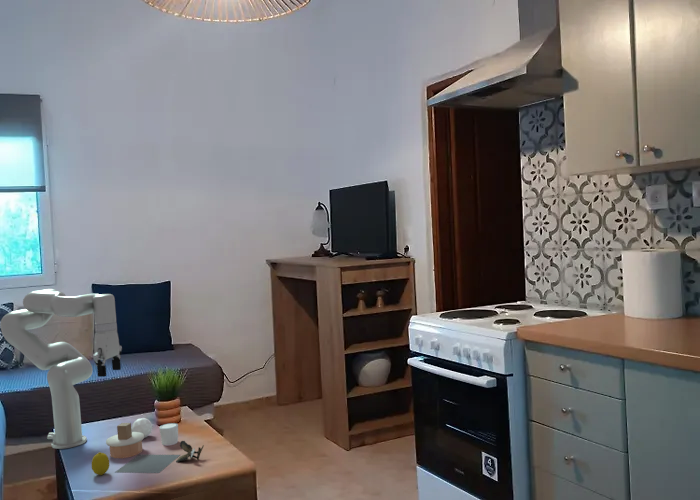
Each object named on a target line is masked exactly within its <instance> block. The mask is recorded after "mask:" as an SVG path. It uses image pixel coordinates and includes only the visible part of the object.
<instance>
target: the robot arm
mask: <svg viewBox="0 0 700 500" xmlns="http://www.w3.org/2000/svg"><path fill="white" fill-rule="evenodd" d="M115 300H116V299H115V296H114V295H113V293H112V294H111V293H102V294H99V293H87V294H86V293H85V294H82V295H75V296H67V295H66V294H65V293H64V292H61V291H58V290H57V289H54V288H46V289H40V290H33V291H30V292H29V293H27V294H26V295H25V296H24V297H23V299H22V306H23V307H24V308H23V309H18V310H13V311H10V312H7V313H6V314H5V315H4V316H3V317H2V318H1V320H0V330H1V333H2V337H4V339H5V340H6V341H7V343H8V344H10V345H11V346H12V347H14V348H15V349H17V350H18V351H19V352H20V353H21V354H23V356H25V358H27V359H28V361H30V362H31V364H33V365H34V366H35V367H36V368H38V369H39V370H41V371H47V374H46V379H47V383H48V386H49V390H50V394H51V405H52V414H53V415H52V416H53V425H54V426H53V427H54V431H53V432H48V434H47V436H46V438H47V439H48V440H52V442H51V444H50V446H51V447H52V449H57V450H65V449H71V448H75V447H79V446H81V445H84V444H85V443H86V442H87V440H88V438H87V436H86V435H83V431H82V430H83V429H82V417H81V405H80V396H79V393H78V391H77V389H76V388H75V387H74V385H76V384H80V383H83V382H85V381H86V380H88V379H89V378H91V377H92V375H93V372H94V371H93V366H92V364H91V362H90V361H89V359H88V358H87V357H86V356H85V355H83V354H82V352H80V350H78V349H77V348H76V347H75V346H73V345H72V343H68V342H66V341H58V342H54V343H48V342H46V341H45V340H43V338H41V337H40V336H39V335H37V334H35V333H33V332H31V331H30V330H34V329H38V328H42V327H44V326H45V325H46V324H47V323H48V322H49V321H50V320H51V318H52V317H53V316H54V315H56V316H57V317H67V318H78V317H82V316H87V315H91V314H93V315H94V316H93V318H94V319H93V320H94V330H95V333H94V339H93V350H94V351H93V353H94V354H93V355H92V357H93V360H94V363H95V367H96V370H97V377H98V378H99V377H102V378H103V377H107V366H106V362H107V360H108V359H111V366H112V367H111V369H112V371H120V370H122V366H121V364H122V363H121V358H122V357H121V355H122V350H123V347H122V345H120V339H119V333H118V324H117V313H116V312H117V311H116V301H115Z"/></svg>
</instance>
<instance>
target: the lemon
mask: <svg viewBox="0 0 700 500" xmlns="http://www.w3.org/2000/svg"><path fill="white" fill-rule="evenodd" d="M109 468H110V459H109V456H108V455H107V454H106V453H105V452H101V451H98V452H97V453H96V454H95V455H93V457H92V459H91V470H92V472H93V473H94V474H95V475H98V476H103V475H104V474H106V473H107V472H108V470H109Z"/></svg>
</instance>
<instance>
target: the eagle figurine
mask: <svg viewBox="0 0 700 500" xmlns="http://www.w3.org/2000/svg"><path fill="white" fill-rule="evenodd" d="M179 446H180V449H182V450H183V451H184V452H186V453H185V454H182V455H180V456H179V457H178V458H177V459H175V460H176V461H175V462H176V463H179V462H182V461H186V460H188V459H189V458H190V459H193V458H194V459H196V460H197V461H199V460H200V456H201V453H202V452H203V448H204V446H205V445H204V444H203V445H202V446H201V447H200V446H198V448H197V449H198V450H197V451H196V448H195V447H194V448H193V447H192V445H191V444H189V443H187V442H186V441H185V440H181V441H180V443H179ZM195 454H196V455H195Z"/></svg>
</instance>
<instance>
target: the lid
mask: <svg viewBox="0 0 700 500" xmlns="http://www.w3.org/2000/svg"><path fill="white" fill-rule="evenodd" d="M116 429H117V432H116V433H117V434H114V435H112V436H110V437H108V438H107V439H106V440H105V444H106V445H107V446H109V447H110V446H113V447H118V446H127V445H131V444H135V443H137V442H139V441H141V440H142V441H143V440H144V439H145V438H144V434H143V433H140V432H132V430H131V429H132V422H121V423H119V424H118V425H117V426H116Z"/></svg>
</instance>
